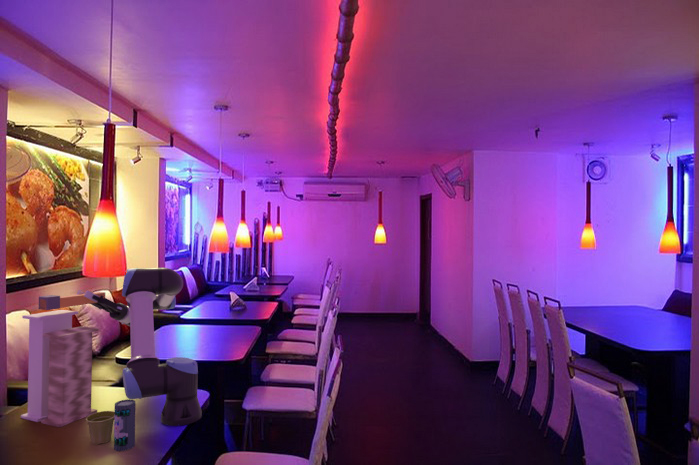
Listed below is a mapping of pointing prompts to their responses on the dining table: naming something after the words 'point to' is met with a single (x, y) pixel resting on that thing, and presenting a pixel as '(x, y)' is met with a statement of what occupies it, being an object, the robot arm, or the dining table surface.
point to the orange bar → (65, 301)
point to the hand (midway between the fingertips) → (81, 293)
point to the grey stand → (42, 359)
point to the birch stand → (69, 375)
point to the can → (124, 425)
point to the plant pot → (101, 426)
